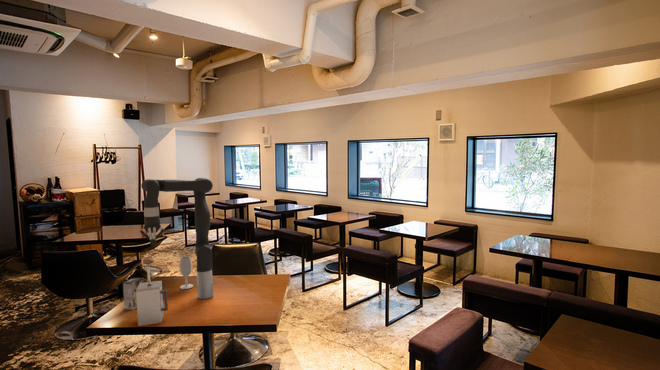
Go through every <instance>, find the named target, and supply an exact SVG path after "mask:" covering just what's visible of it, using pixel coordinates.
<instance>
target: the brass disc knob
mask: <svg viewBox="0 0 660 370" xmlns="http://www.w3.org/2000/svg"><path fill="white" fill-rule="evenodd" d="M153 263H154V257H146V258H143V259H142V265H146V268H147V269H146V270H147V271H146V272H147V282H148V286H151V283H150V282H151V269H150V267H151V266H150V264H153Z"/></svg>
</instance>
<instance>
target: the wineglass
mask: <svg viewBox="0 0 660 370" xmlns="http://www.w3.org/2000/svg"><path fill="white" fill-rule="evenodd" d="M178 267H179V273H180V275H182V276H183V277H184V278H185V279H184V280H185V284H182V285H180V286H179V289H181V290H189V289H192V288H193V287H194V284H192V283H188V277H189V276H190V275H191V273H192V272H193V263H192V258H191V256H189V255H186V256H181V257H180V260H179V265H178Z"/></svg>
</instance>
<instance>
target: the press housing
mask: <svg viewBox="0 0 660 370" xmlns="http://www.w3.org/2000/svg"><path fill="white" fill-rule="evenodd" d="M150 283H151V286H148V281H147V282H143V283H140V284H139V285H138V287H137V289H136V296H137V308H136V309H137V310H136V311H137V312H136V313H137V326H138V327H143V326H149V325H154V324H161V323H162V322H163V317H164V312H165V311H168V310H169V307H168V306H169V304H168V303H169V302H168V289H163V281H162V280H155V281H153V280H152V281H150ZM163 295H164V296H163ZM163 297H164V300H163Z"/></svg>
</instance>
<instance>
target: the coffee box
mask: <svg viewBox="0 0 660 370" xmlns="http://www.w3.org/2000/svg"><path fill="white" fill-rule="evenodd" d="M140 283H144V278H143V277H133V278H130V279H127V280H125V281H124V282H122V290H123V292H122V293H123V303H124V304H123V306H124V310H136V309H137V296H136V289H137V287H138V285H139V284H140Z"/></svg>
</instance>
